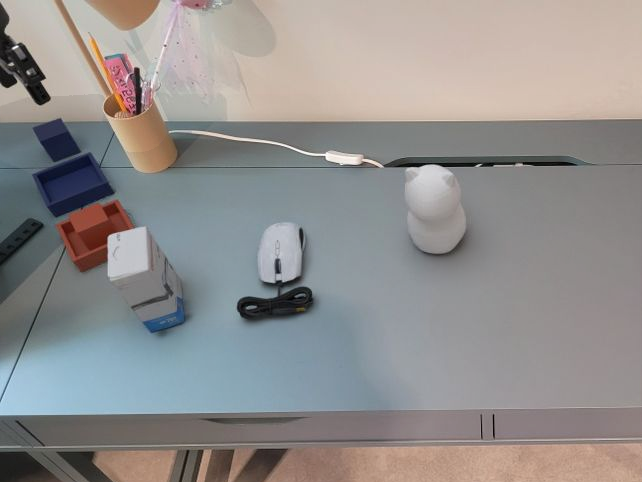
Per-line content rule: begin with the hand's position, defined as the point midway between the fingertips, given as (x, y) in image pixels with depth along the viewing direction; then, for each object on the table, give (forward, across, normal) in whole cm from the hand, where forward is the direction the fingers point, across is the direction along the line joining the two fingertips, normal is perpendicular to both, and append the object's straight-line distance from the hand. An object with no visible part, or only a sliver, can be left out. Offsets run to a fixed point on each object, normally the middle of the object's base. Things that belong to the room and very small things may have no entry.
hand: (27, 93), depth 103 cm
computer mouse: (+12, +51, -1) cm, 52 cm away
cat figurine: (+12, +67, +18) cm, 70 cm away
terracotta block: (+11, +23, -10) cm, 28 cm away
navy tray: (+11, +10, -5) cm, 16 cm away
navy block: (+11, 0, 0) cm, 11 cm away
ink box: (+12, +41, -14) cm, 45 cm away
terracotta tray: (+12, +23, -10) cm, 28 cm away
